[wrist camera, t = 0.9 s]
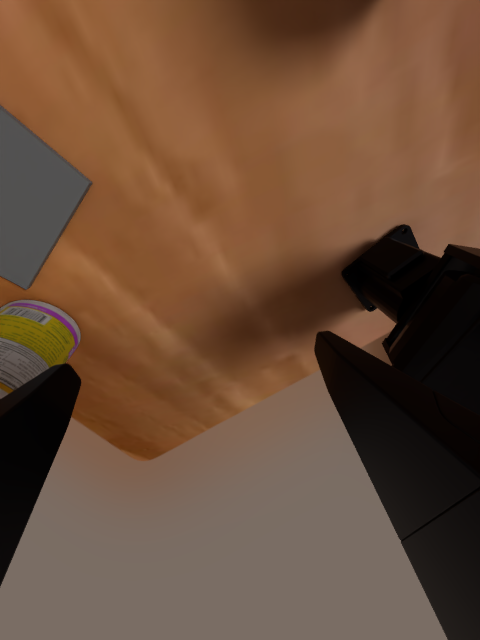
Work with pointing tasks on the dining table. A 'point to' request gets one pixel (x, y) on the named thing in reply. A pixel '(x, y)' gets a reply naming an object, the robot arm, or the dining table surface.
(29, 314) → the supplement bottle
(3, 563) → the robot arm
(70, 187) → the slate coaster
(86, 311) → the dining table surface
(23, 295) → the dining table surface
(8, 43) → the dining table surface
